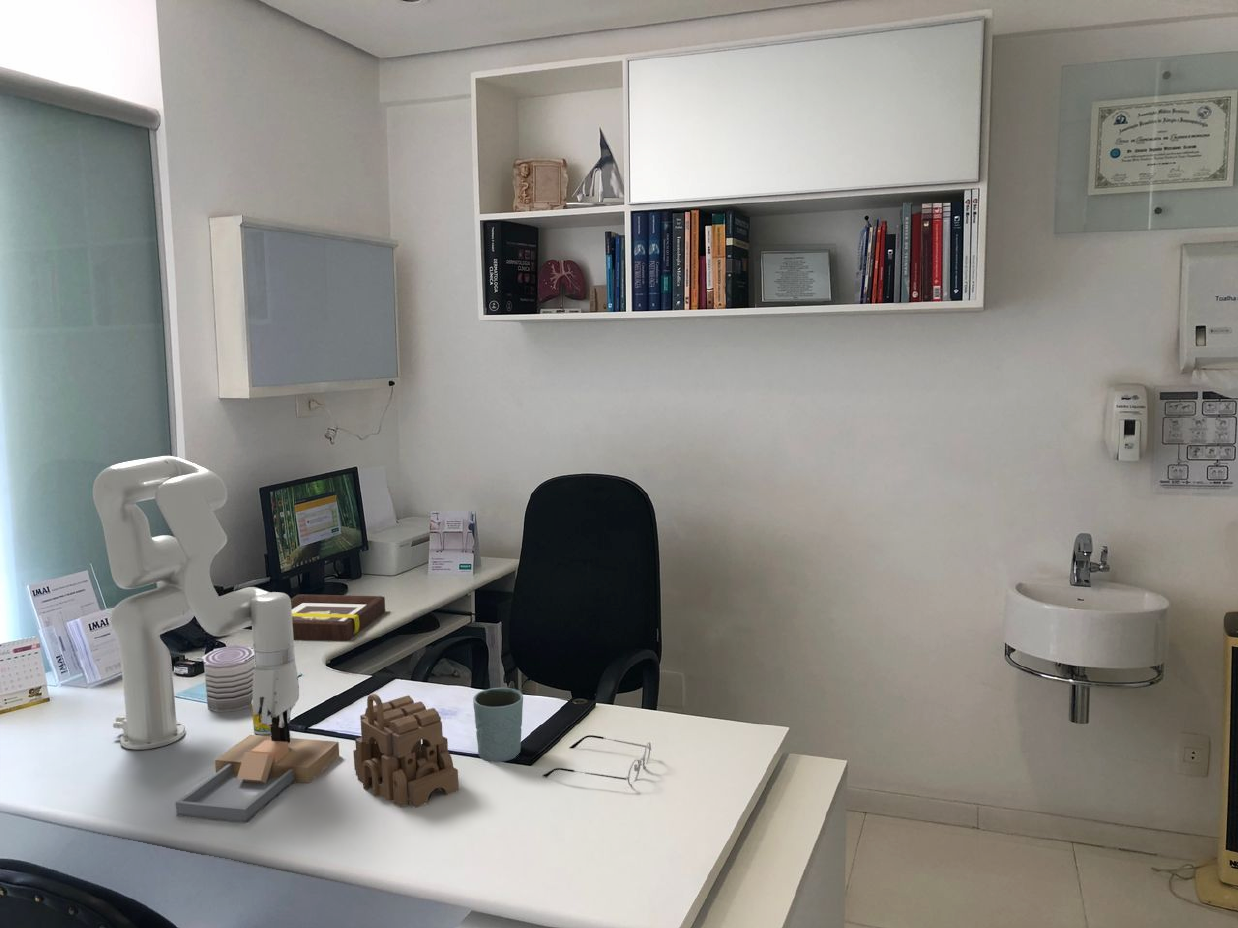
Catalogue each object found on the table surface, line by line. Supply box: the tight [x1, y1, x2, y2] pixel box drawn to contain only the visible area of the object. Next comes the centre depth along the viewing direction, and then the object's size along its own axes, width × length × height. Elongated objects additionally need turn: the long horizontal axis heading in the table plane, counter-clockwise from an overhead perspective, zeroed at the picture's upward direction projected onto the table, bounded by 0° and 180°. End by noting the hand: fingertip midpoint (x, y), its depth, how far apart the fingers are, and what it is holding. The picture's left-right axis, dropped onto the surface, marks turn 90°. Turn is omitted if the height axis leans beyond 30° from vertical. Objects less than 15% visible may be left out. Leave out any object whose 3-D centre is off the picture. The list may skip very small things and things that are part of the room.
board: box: [214, 734, 340, 784], centre depth 195 cm, size 20×12×3 cm, turn 78°
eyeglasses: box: [542, 734, 652, 786], centre depth 191 cm, size 16×19×5 cm
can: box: [201, 644, 256, 713], centre depth 228 cm, size 11×11×12 cm
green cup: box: [472, 687, 524, 763], centre depth 198 cm, size 10×10×12 cm
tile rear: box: [251, 740, 289, 763], centre depth 192 cm, size 5×5×2 cm
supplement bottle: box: [251, 700, 271, 736], centre depth 212 cm, size 5×5×10 cm
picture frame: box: [251, 593, 386, 642], centre depth 287 cm, size 28×7×30 cm
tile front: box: [237, 752, 274, 784], centre depth 188 cm, size 5×5×2 cm
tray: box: [174, 764, 296, 824], centre depth 182 cm, size 14×16×2 cm
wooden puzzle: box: [353, 693, 460, 809], centre depth 187 cm, size 22×15×19 cm, turn 43°
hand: (281, 743), depth 196 cm, fingers closed
